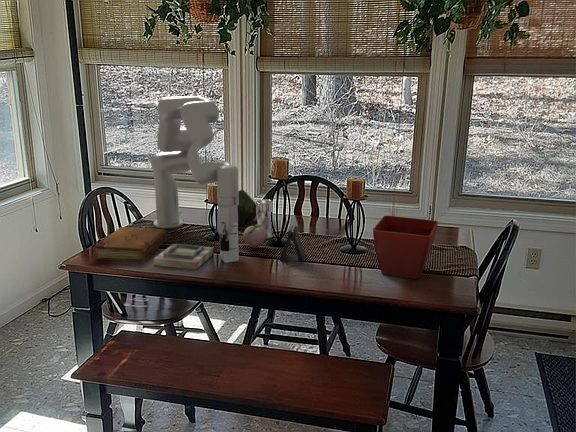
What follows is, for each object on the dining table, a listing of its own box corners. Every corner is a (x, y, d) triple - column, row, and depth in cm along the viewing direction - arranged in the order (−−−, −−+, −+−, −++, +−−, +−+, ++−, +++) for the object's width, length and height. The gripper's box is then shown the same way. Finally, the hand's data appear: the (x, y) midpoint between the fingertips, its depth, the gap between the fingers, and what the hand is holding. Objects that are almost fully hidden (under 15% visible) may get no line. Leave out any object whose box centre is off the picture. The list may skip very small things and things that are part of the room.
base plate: (173, 249, 221) (173, 240, 220) (213, 253, 218) (212, 244, 217) (154, 264, 207) (153, 255, 206) (196, 269, 203) (195, 259, 202)
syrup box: (239, 261, 211) (238, 223, 207) (223, 263, 209) (222, 224, 204) (234, 255, 216) (234, 218, 212) (219, 257, 214) (218, 220, 209)
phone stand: (305, 256, 216) (306, 226, 212) (303, 262, 210) (304, 231, 206) (282, 255, 217) (282, 224, 214) (279, 260, 211) (279, 229, 208)
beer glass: (274, 234, 240) (274, 199, 236) (272, 240, 233) (271, 204, 229) (257, 233, 241) (257, 198, 236) (254, 239, 234) (254, 203, 230)
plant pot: (382, 258, 215) (384, 214, 210) (434, 265, 208) (438, 220, 203) (369, 276, 198) (372, 229, 193) (426, 285, 191) (430, 236, 186)
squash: (225, 218, 243) (246, 189, 245) (212, 210, 256) (232, 183, 258) (249, 235, 250) (269, 207, 252) (235, 227, 263) (254, 201, 265)
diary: (145, 263, 209) (143, 248, 208) (96, 261, 212) (94, 246, 210) (166, 242, 231) (165, 228, 229) (122, 240, 234) (120, 226, 232)
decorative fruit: (249, 243, 229) (248, 219, 227) (268, 245, 227) (268, 221, 224) (239, 251, 221) (239, 225, 218) (259, 253, 218) (259, 228, 215)
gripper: (226, 193, 215) (227, 238, 220) (208, 205, 198) (210, 254, 204) (245, 194, 213) (246, 240, 218) (229, 207, 197) (230, 256, 202)
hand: (229, 246), depth 211 cm, fingers closed on syrup box, 8 cm apart
